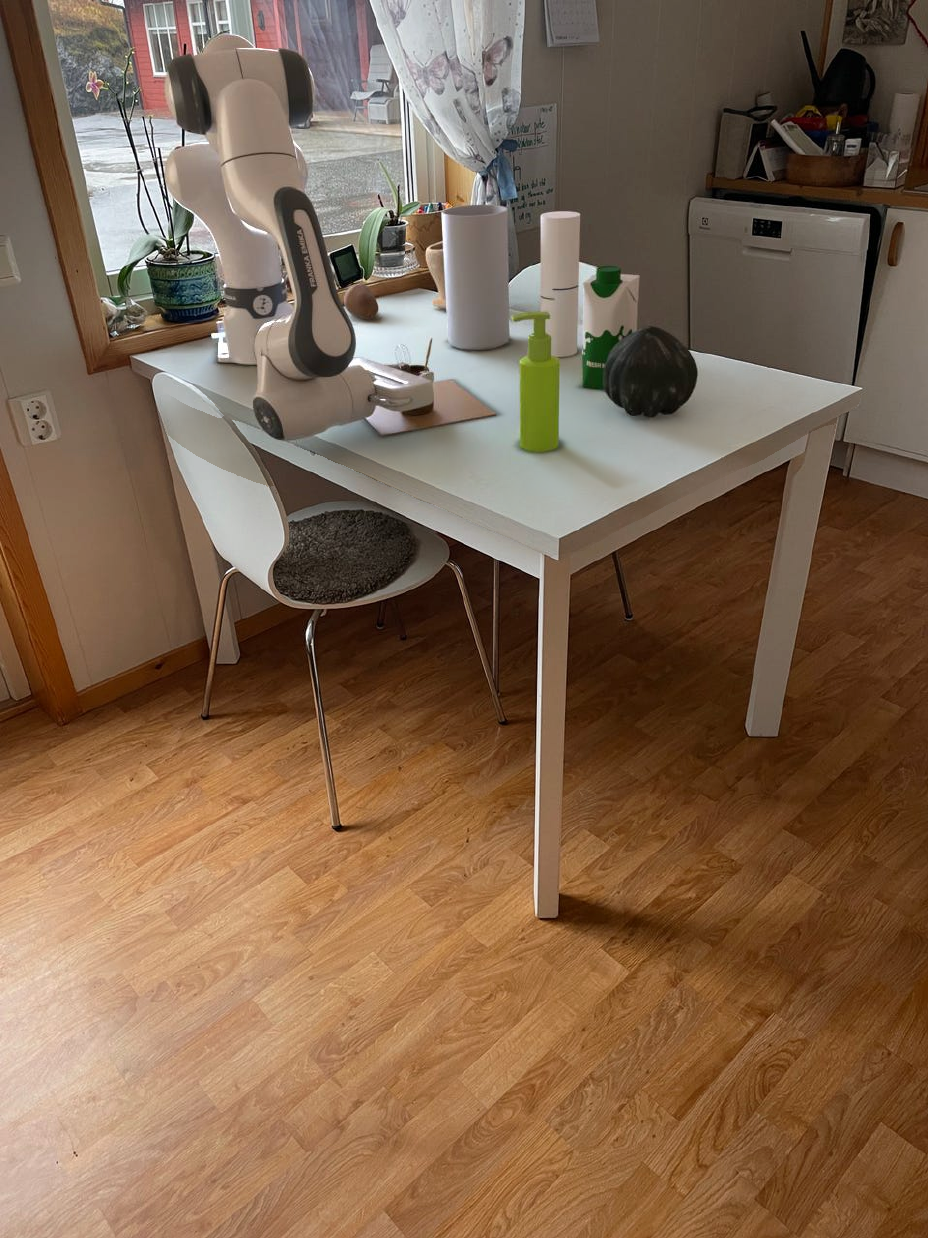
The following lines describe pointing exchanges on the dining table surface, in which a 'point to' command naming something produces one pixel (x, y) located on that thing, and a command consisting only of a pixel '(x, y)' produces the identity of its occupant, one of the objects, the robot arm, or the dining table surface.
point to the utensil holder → (416, 371)
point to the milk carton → (606, 318)
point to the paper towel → (447, 409)
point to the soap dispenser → (538, 388)
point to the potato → (360, 301)
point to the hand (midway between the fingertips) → (418, 371)
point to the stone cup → (437, 271)
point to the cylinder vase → (476, 275)
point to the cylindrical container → (560, 279)
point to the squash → (650, 373)
